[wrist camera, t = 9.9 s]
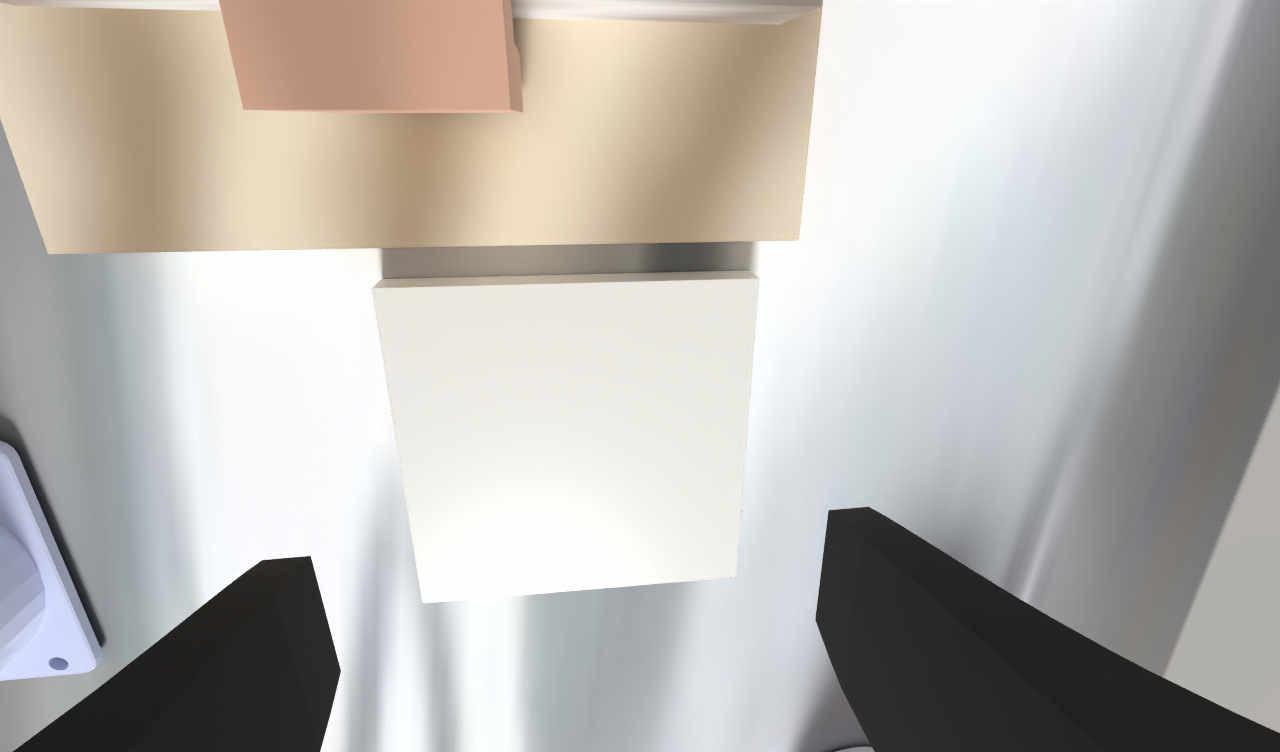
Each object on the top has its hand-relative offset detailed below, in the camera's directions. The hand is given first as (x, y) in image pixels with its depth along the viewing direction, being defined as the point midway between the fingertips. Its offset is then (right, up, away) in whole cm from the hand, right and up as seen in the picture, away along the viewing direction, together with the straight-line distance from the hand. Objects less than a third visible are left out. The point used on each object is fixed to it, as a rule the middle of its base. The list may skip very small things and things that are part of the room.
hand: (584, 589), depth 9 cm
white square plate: (-1, +1, +10) cm, 10 cm away
